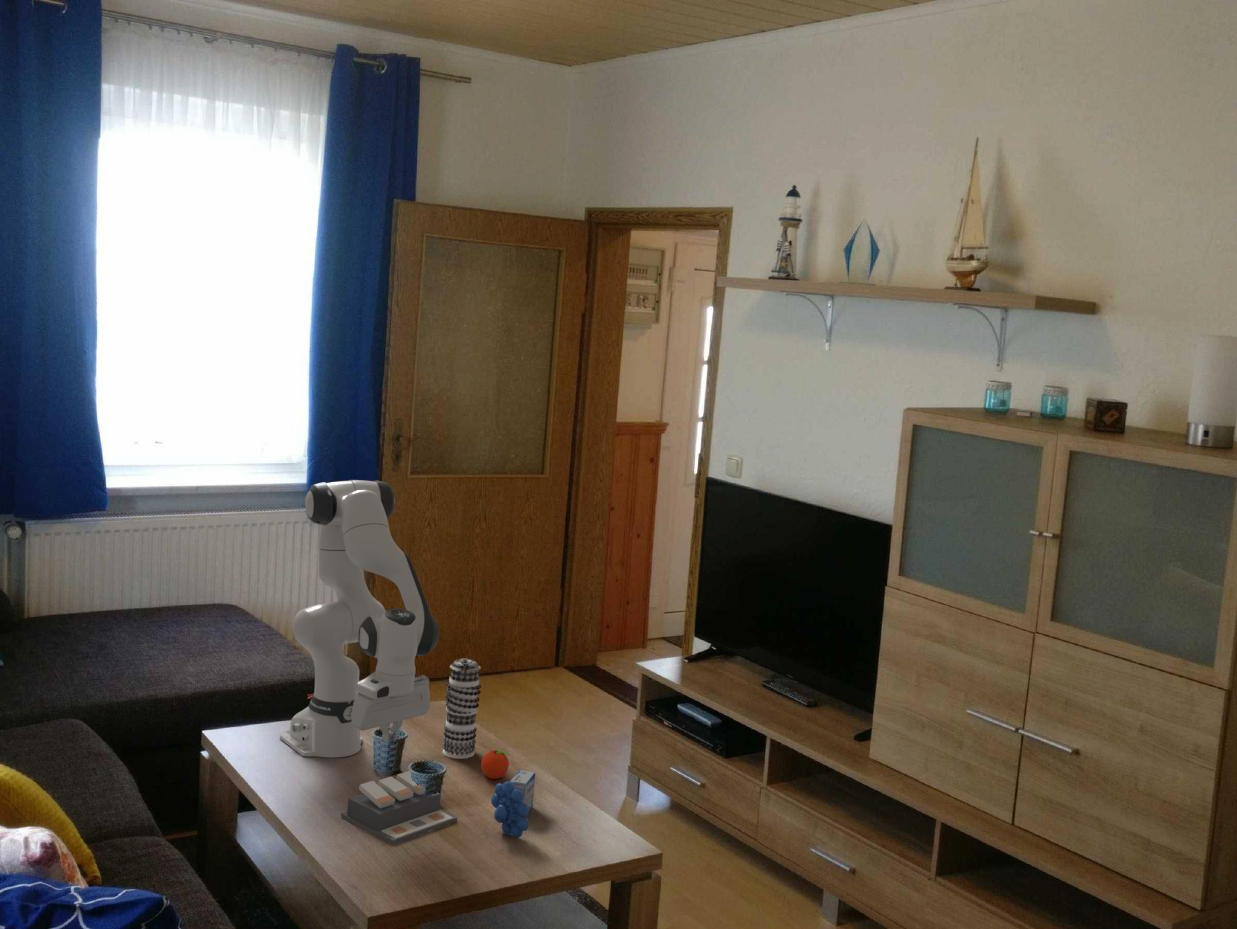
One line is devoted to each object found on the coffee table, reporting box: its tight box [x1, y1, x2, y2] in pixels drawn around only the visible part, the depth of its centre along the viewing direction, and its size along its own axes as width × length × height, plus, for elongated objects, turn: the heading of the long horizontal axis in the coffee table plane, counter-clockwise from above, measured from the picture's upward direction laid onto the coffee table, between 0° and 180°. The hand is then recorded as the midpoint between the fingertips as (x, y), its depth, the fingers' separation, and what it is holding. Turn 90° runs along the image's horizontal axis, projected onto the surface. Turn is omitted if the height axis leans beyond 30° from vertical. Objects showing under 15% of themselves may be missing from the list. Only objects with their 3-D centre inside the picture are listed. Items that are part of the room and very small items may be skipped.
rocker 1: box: [358, 780, 395, 809], centre depth 273 cm, size 8×4×1 cm, turn 51°
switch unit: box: [340, 782, 458, 846], centre depth 277 cm, size 18×19×5 cm
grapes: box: [490, 780, 530, 839], centre depth 273 cm, size 12×7×12 cm, turn 49°
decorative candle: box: [442, 658, 482, 760], centre depth 319 cm, size 9×9×25 cm
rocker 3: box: [395, 770, 426, 795], centre depth 282 cm, size 8×4×1 cm, turn 51°
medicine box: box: [509, 769, 536, 812], centre depth 287 cm, size 8×4×9 cm, turn 168°
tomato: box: [480, 749, 513, 780], centre depth 306 cm, size 8×7×7 cm
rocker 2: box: [377, 776, 414, 801], centre depth 277 cm, size 8×4×1 cm, turn 51°
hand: (389, 739), depth 277 cm, fingers closed
